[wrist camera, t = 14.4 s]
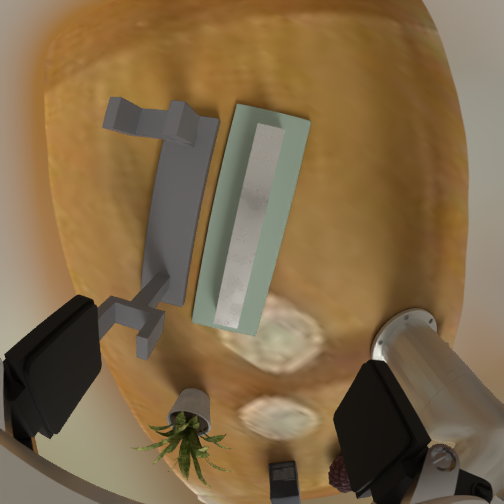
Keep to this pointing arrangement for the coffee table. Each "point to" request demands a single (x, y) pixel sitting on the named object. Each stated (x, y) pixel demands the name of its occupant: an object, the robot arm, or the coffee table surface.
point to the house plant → (188, 430)
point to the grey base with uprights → (163, 212)
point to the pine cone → (339, 475)
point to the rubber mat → (227, 211)
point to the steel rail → (248, 223)
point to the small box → (284, 483)
